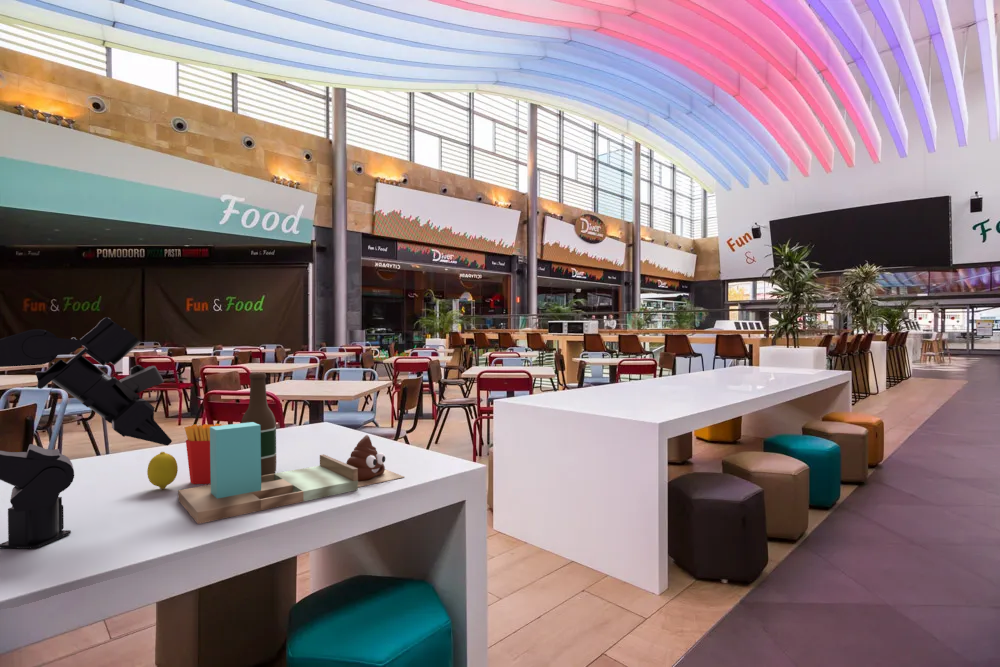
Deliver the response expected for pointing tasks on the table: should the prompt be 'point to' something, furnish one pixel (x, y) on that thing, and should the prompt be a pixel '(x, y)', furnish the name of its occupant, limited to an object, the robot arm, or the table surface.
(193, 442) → the french fries
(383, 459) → the poop emoji
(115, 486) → the table surface
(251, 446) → the block
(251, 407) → the beer bottle
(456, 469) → the table surface
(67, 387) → the robot arm
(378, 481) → the coaster
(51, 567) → the table surface
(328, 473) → the board
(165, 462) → the lemon
